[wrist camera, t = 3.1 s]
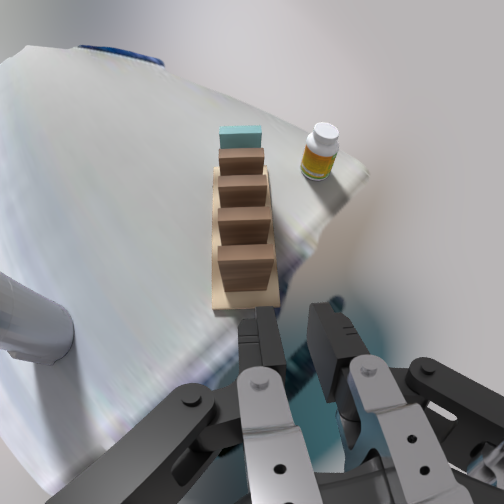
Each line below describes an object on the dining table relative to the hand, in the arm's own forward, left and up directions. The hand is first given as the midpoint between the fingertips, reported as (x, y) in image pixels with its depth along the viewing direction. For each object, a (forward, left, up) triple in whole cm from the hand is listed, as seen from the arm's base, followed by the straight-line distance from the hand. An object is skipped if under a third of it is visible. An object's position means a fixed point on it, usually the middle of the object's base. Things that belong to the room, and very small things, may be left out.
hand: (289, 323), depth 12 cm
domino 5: (+8, +6, -25) cm, 27 cm away
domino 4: (+12, +8, -25) cm, 29 cm away
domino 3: (+15, +10, -25) cm, 31 cm away
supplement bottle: (+32, +5, -26) cm, 42 cm away
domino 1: (+23, +15, -25) cm, 37 cm away
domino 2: (+19, +13, -25) cm, 34 cm away
